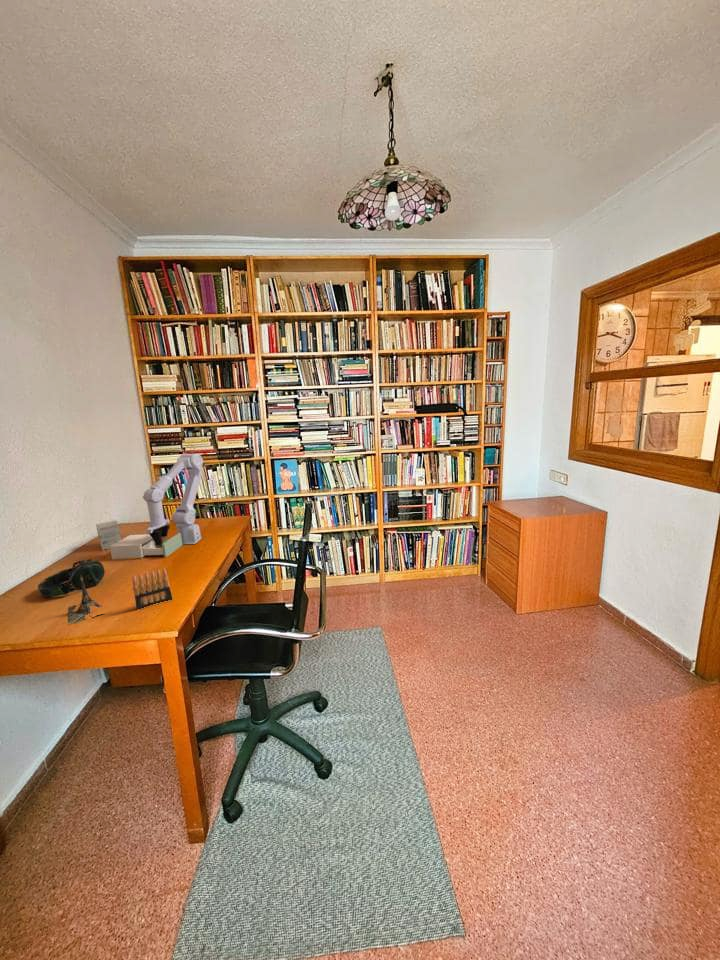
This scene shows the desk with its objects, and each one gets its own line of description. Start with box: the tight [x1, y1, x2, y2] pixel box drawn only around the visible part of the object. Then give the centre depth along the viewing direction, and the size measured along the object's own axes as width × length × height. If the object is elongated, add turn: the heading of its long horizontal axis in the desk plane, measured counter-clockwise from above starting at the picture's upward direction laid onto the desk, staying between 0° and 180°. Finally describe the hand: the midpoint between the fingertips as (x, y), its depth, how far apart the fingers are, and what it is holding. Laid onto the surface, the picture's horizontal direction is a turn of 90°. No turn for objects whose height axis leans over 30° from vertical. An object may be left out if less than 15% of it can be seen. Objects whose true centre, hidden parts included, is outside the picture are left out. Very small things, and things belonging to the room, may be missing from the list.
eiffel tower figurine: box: [67, 574, 102, 624], centre depth 122 cm, size 15×10×13 cm
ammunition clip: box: [131, 567, 173, 611], centre depth 123 cm, size 11×2×12 cm, turn 122°
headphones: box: [37, 558, 106, 598], centre depth 139 cm, size 13×13×20 cm
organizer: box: [109, 533, 153, 560], centre depth 171 cm, size 14×14×6 cm
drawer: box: [142, 532, 183, 558], centre depth 170 cm, size 14×14×6 cm
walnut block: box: [154, 535, 169, 548], centre depth 170 cm, size 4×4×4 cm
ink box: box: [95, 519, 122, 551], centre depth 182 cm, size 9×9×12 cm
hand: (161, 542), depth 170 cm, fingers closed on walnut block, 4 cm apart
